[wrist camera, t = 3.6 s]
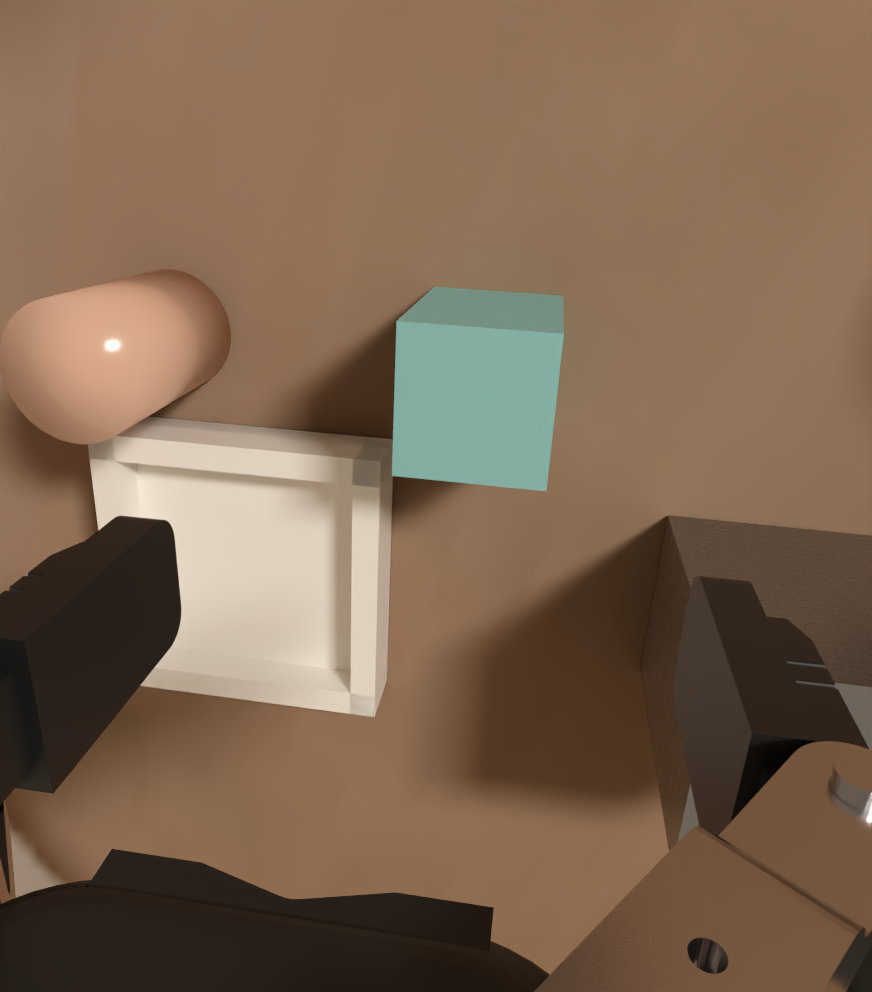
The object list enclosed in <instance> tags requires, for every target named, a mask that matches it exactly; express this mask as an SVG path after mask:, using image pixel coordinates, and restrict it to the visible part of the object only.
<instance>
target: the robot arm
mask: <svg viewBox="0 0 872 992" xmlns="http://www.w3.org/2000/svg"><path fill="white" fill-rule="evenodd" d="M180 621H181V598H180V588H179V578H178V567H177V557H176V547H175V537H174V532H173V529H172V526H171V525H170V523H169V522H168V521H166V520H160V519H150V518H140V517H130V516H117V517H115V518H114V519H112V520H111V521H110V522H109V523H107V524H106V525H105V526H104V527H102V528H101V529H100V530H99V531H97V532H96V533H95V534H94V535H92V536H91V537H90V538H88V539H87V540H86V541H85V542H81V543H79V544H76V545H74V546H72V547H69V548H67V549H65V550H62V551H60V552H58V553H55V554H53V555H51V556H49V557H48V558H47V559H45V560H44V561H43V562H41V563H40V564H39V565H38V566H36V567H35V568H34V569H32V570H31V571H30V572H28V576H23V577H22V578H21V579H19V580H18V581H17V582H16V583H14V584H13V585H12V586H10V590H9V591H4V592H3V593H1V594H0V992H872V750H870V749H869V747H868V745H867V744H866V742H865V740H864V738H863V736H862V734H861V732H860V730H859V728H858V726H857V724H856V723H855V721H854V719H853V717H852V715H851V713H850V711H849V709H848V707H847V705H846V703H845V702H844V700H843V698H842V696H841V694H840V692H839V690H838V689H835V683H834V681H833V679H832V677H831V675H830V673H829V671H828V669H825V663H824V662H823V660H822V658H821V656H820V654H819V652H818V650H817V648H816V646H815V644H814V642H813V641H812V640H811V639H810V638H809V637H808V636H807V635H805V634H804V633H803V632H802V631H801V630H799V629H798V628H797V627H796V626H795V625H793V624H792V623H791V622H790V621H789V620H787V619H785V618H776V617H767V616H766V614H765V612H764V610H763V607H762V605H761V603H760V601H759V599H758V596H757V594H756V592H755V590H754V588H753V585H752V584H751V582H750V581H744V580H735V579H725V578H715V577H705V576H696V577H695V578H694V580H693V583H692V586H691V589H690V594H689V599H688V605H687V610H686V615H685V620H684V626H683V631H682V636H681V641H680V647H679V652H678V657H677V663H676V668H675V678H674V705H675V712H676V716H677V721H678V726H679V731H680V736H681V740H682V745H683V750H684V755H685V760H686V765H687V769H688V774H689V779H690V784H691V789H692V793H693V798H694V803H695V808H696V813H697V818H698V822H699V826H697V827H694V828H693V829H692V830H690V831H689V832H688V833H687V834H686V835H685V836H684V837H683V838H682V839H681V840H680V841H679V842H678V843H677V844H676V845H675V846H674V847H673V848H672V849H671V850H670V851H669V852H668V853H667V854H666V855H665V856H664V857H663V858H662V859H661V860H660V861H659V862H658V863H657V865H656V866H655V867H654V868H653V869H652V870H651V871H650V872H649V873H648V874H647V875H646V876H645V877H644V878H643V879H642V880H641V881H640V882H639V883H638V884H637V885H636V886H635V887H634V888H633V889H632V890H631V891H630V893H629V894H628V895H627V896H626V897H625V898H624V899H623V900H622V901H621V902H620V903H619V904H618V905H617V906H616V907H615V908H614V909H613V910H612V911H611V912H610V913H609V914H608V915H607V916H606V917H605V918H604V919H603V920H602V922H601V923H600V924H599V925H598V926H597V927H596V928H595V929H594V930H593V931H592V932H591V933H590V934H589V935H588V936H587V937H586V938H585V939H584V940H583V941H582V942H581V943H580V944H579V945H578V946H577V947H576V948H575V950H574V951H573V952H572V953H571V954H570V955H569V956H568V957H567V958H566V959H565V960H564V961H563V962H562V963H561V964H560V965H559V966H558V967H557V968H556V969H555V970H554V971H553V972H552V973H551V974H550V975H549V974H548V973H547V972H545V971H544V970H543V969H541V968H540V967H538V966H537V965H536V964H534V963H533V962H531V961H530V960H528V959H526V958H524V957H522V956H521V955H519V954H517V953H515V952H514V951H512V950H510V949H508V948H506V947H503V946H501V945H499V944H496V943H494V942H492V941H490V940H491V929H492V918H493V908H492V907H486V906H479V905H473V904H466V903H460V902H453V901H447V900H440V899H434V898H427V897H421V896H414V895H408V894H401V893H383V894H369V895H354V896H340V897H326V898H312V899H288V898H284V897H281V896H278V895H276V894H273V893H271V892H269V891H266V890H264V889H262V888H259V887H257V886H255V885H252V884H250V883H248V882H245V881H243V880H241V879H238V878H236V877H234V876H231V875H229V874H227V873H224V872H222V871H220V870H217V869H215V868H213V867H210V866H208V865H206V864H203V863H200V862H193V861H187V860H180V859H174V858H167V857H161V856H154V855H148V854H141V853H135V852H128V851H122V850H115V849H112V850H111V851H110V853H109V854H108V856H107V857H106V859H105V860H104V862H103V863H102V865H101V867H100V868H99V870H98V871H97V873H96V874H95V876H94V877H93V879H92V880H87V881H78V882H73V883H67V884H61V885H56V886H52V887H49V888H45V889H41V890H38V891H34V892H31V893H28V894H25V895H23V896H20V897H17V898H16V896H15V885H14V872H13V861H12V850H11V837H10V825H9V817H8V812H7V807H6V803H5V799H6V798H7V797H8V796H9V794H10V793H11V792H12V791H13V790H14V789H15V788H20V789H27V790H33V791H40V792H47V793H54V792H55V791H56V789H57V788H58V787H59V786H60V784H61V783H62V782H63V781H64V779H65V778H66V777H67V776H68V774H69V773H70V772H71V771H72V770H73V768H74V767H75V766H76V765H77V763H78V762H79V761H80V760H81V758H82V757H83V756H84V755H85V753H86V752H87V751H88V750H89V748H90V747H91V746H92V745H93V743H94V742H95V741H96V740H97V738H98V737H99V736H100V735H101V733H102V732H103V731H104V730H105V729H106V727H107V726H108V725H109V724H110V722H111V721H112V720H113V719H114V717H115V716H116V715H117V714H118V712H119V711H120V710H121V709H122V707H123V706H124V705H125V704H126V702H127V701H128V700H129V699H130V697H131V696H132V695H133V694H134V692H135V691H136V690H137V689H138V687H139V686H140V685H141V684H142V683H143V681H144V680H145V679H146V678H147V676H148V675H149V674H150V673H151V671H152V670H153V669H154V668H155V666H156V665H157V664H158V663H159V661H160V660H161V659H162V658H163V656H164V655H165V654H166V653H167V651H168V650H169V649H170V648H171V646H172V645H173V643H174V641H175V639H176V636H177V634H178V630H179V627H180Z"/></svg>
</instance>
